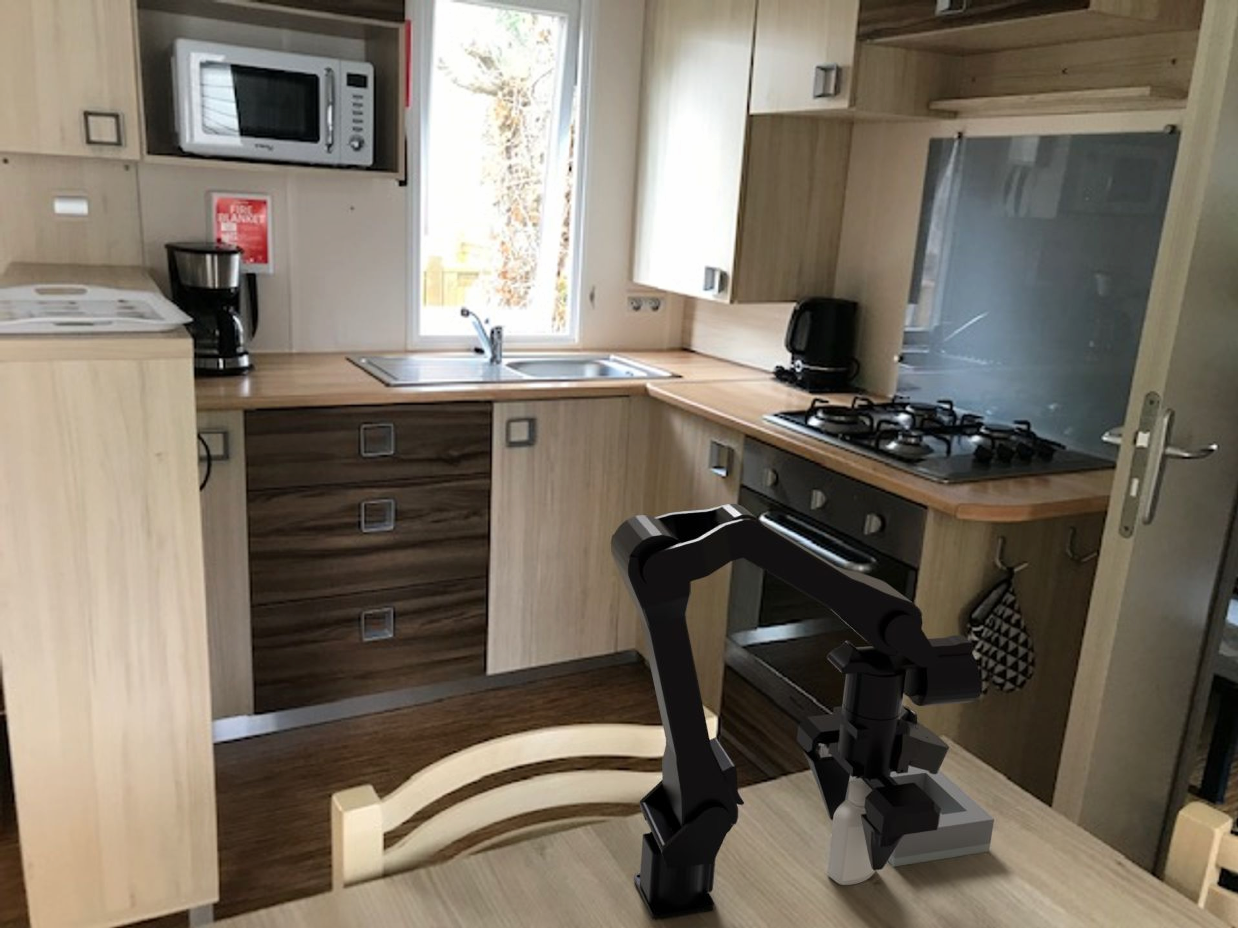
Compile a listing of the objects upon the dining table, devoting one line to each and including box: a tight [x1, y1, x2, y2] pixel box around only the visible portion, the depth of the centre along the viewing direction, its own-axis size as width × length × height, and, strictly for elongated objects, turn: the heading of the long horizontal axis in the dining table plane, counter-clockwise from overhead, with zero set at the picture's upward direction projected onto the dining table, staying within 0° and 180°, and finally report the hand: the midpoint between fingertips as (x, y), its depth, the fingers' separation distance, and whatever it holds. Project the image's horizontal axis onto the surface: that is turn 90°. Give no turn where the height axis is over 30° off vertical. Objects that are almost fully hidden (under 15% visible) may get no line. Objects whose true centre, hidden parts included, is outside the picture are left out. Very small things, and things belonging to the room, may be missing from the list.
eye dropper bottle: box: [826, 778, 877, 886], centre depth 105 cm, size 4×6×12 cm
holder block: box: [845, 766, 995, 867], centre depth 114 cm, size 12×12×4 cm
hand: (855, 843), depth 105 cm, fingers closed on eye dropper bottle, 8 cm apart
